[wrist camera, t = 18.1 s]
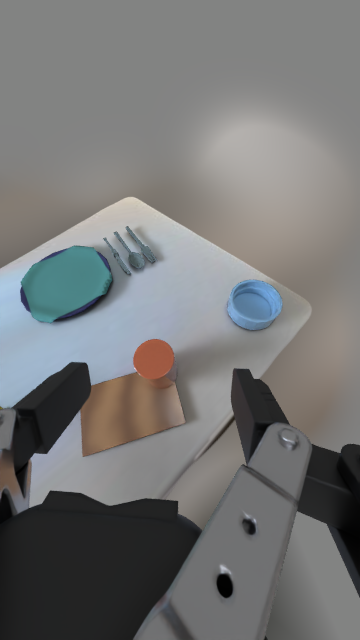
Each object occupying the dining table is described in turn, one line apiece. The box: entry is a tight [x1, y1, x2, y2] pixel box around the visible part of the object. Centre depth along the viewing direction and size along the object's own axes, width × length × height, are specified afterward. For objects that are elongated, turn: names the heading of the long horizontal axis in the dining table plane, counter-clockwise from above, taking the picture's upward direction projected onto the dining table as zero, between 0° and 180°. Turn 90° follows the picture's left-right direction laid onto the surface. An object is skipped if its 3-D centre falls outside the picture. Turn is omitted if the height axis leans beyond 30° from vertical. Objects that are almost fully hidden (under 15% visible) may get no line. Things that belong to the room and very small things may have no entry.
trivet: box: [80, 372, 186, 457], centre depth 33 cm, size 16×10×1 cm, turn 106°
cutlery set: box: [20, 226, 157, 323], centre depth 46 cm, size 20×30×2 cm, turn 124°
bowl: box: [227, 280, 282, 330], centre depth 39 cm, size 9×10×4 cm
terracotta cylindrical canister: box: [133, 339, 178, 389], centre depth 31 cm, size 6×6×8 cm
